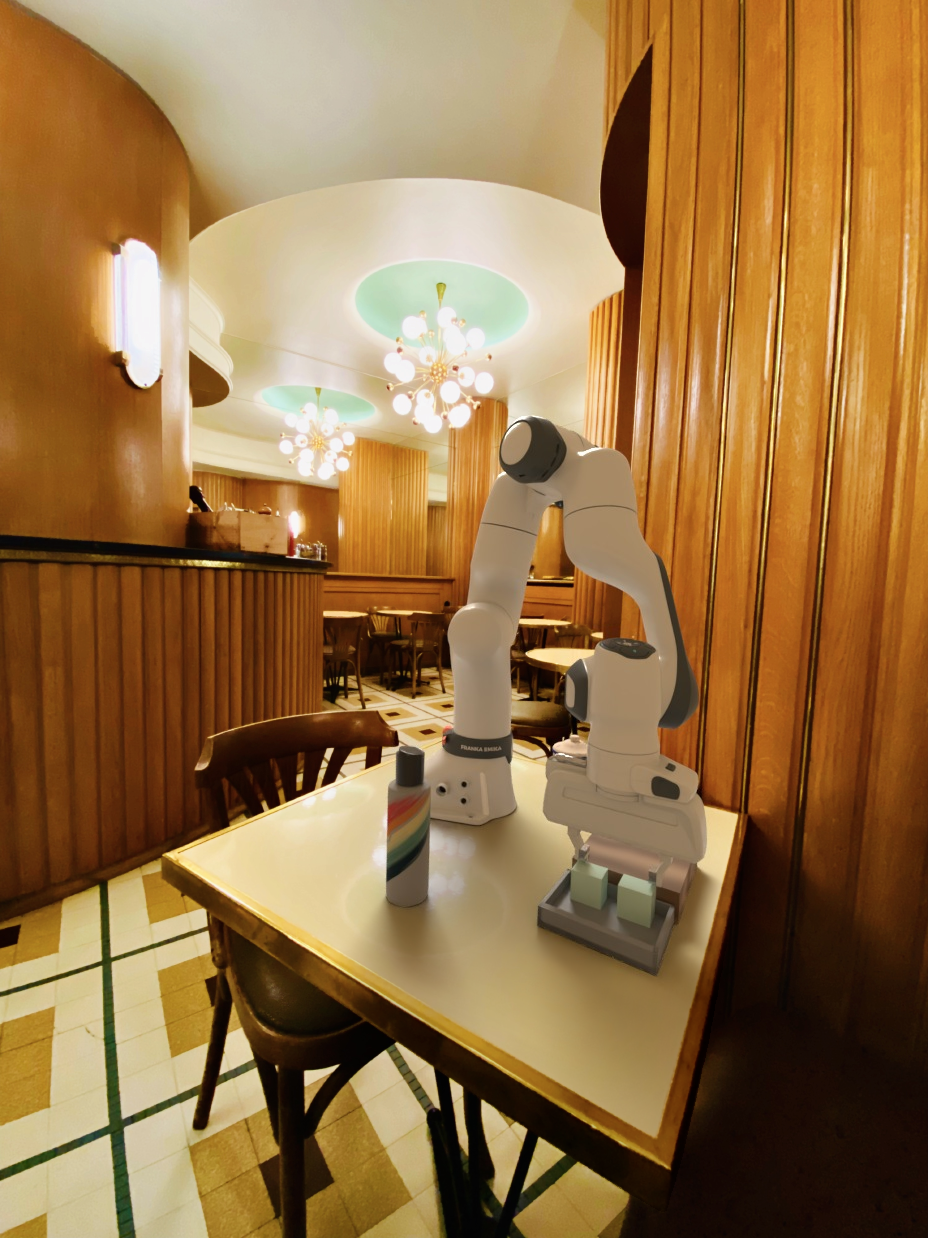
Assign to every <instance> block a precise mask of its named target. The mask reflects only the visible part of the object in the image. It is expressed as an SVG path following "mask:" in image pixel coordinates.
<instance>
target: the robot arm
mask: <svg viewBox="0 0 928 1238" xmlns="http://www.w3.org/2000/svg"><path fill="white" fill-rule="evenodd" d="M498 449H499V450H498V461H499V465H500V467H501V470H502V471H503V472H501V473H500V474H498V475H497V477H496V478H495V480H494V482H493V484H492V487H491V489H490V491H489V494H488V496H487V499H486V502H485V504H484V508H483V511H482V514H481V517H480V518H481V519H480V522H479V527H478V530H477V535H476V540H475V545H474V547H473V552H472V557H471V561H470V568H469V569H470V575H469V576H470V577H469V586H468V587H469V588H468V593H467V594H468V595H467V602H466V605H464V606H462V607H461V608H460V609H459V610H458V611H456V612H455V614H454V615H453V617H452V618H451V620H450V623H449V626H448V630H447V642H448V644H449V645H448V646H449V654H450V665H451V666H450V667H451V673H452V681H453V725H452V726H451V725H445V726H444V728H443V730H442V738H441V740H442V741H441V744H442V745H441V747H442V748H440V749H439V750H437V751H436V752H434V753H433V754H431V755H430V756H429V757H427V758H426V759H425V760H424V779H426V780H427V781H429V783H430V784H431V809H430V819H437V820H443V821H449V822H454V823H460V824H466V825H474V826H480V825H481V826H482V825H483V824H486V823H488V822H489V821H491V820H494V819H499V818H503V817H505V816H507V815H508V816H509V814H511V813H513V812H514V811H515V810H516V808H517V805H518V803H517V800H516V795H515V789H514V784H513V779H512V767H511V766H512V764H511V763H512V760H513V753H514V736H513V732H512V730H511V729H512V728H511V725H512V723H511V722H512V698H513V694H512V693H513V692H512V691H513V690H512V680H511V679H512V678H511V677H512V676H511V647H512V645H513V644H514V642H515V640H516V638H517V637H516V636H517V634H518V629H519V628H518V627H519V625H520V624H519V623H520V620H521V619H520V618H521V615H522V614H521V613H522V610H523V605H524V604H523V603H524V600H525V596H526V595H525V594H526V589H527V582H528V578H529V573H530V569H531V566H532V560H533V558H534V554H535V550H536V546H537V545H536V544H537V542H538V541H537V540H538V537H539V532H540V528H541V524H542V523H541V522H542V519H543V517H544V516H543V515H544V513H545V511H546V510H547V509H548V508H549V507H550V506H551V505H553V504H554V505H555V507H557V508H558V509H562V510H563V511H562V512H563V516H562V517H563V519H562V522H563V523H562V525H563V526H562V527H563V532H562V533H563V540H564V541H563V543H564V549H565V552H566V556H567V557H568V559H569V560H570V562H571V563H572V564H573V565H574V566H575V567H576V568H577V569H578V570H579V571H581V572H582V573H583V574H585V575H586V576H589V577H590V578H592V579H595V580H597V581H599V582H602V583H605V584H607V585H610V586H612V587H614V588H617V589H619V590H620V591H623V592H624V593H625V594H627V595H628V596H630V597H631V598H632V599H633V600H634V601H635V604H637V606H638V608H639V611H640V615H641V619H642V624H643V630H644V633H645V637H646V642H645V641H643V640H638V639H637V640H636V639H633V638H626V637H612V638H607V639H603V640H601V641H599V642H598V643H597V644H596V646H595V648H594V651H593V654H592V655H590V656H587V657H585V658H579V659H577V660H576V661H574V662H573V663H572V665H570V666H569V668H568V669H567V670H566V671H565V675H564V676H565V679H564V703H563V704H564V707H565V708H566V710H567V711H568V712H569V713H570V714H571V715H572V716H573V717H574V718H576V719H577V720H579V721H580V722H582V723H584V722H585V723H588V724H590V729H589V733H588V736H587V743H586V744H587V759H586V758H581V757H575V756H568V755H566V754H562V753H557V754H556V755H553V754H552V755H551V756H549V757H548V758H547V760H546V763H545V778H546V780H547V781H546V785H545V790H544V795H543V801H542V813H543V815H544V817H545V818H546V820H547V821H549V822H551V823H555V824H558V825H561V826H565V827H567V830H566V831H567V833H566V834H567V836H568V838H569V839H570V842H571V844H572V846H573V848H574V855H575V860H578V861H582V862H585V863H586V862H587V860H588V859H589V855H590V853H589V851H590V845H587V844H584V843H585V841H584V840H583V836H582V835H581V832H585V833H589V834H595V835H598V836H602V837H605V838H609V839H612V840H615V841H619V842H622V843H626V844H629V845H632V846H636V847H639V848H643V849H646V850H649V851H653V852H656V853H659V861H661V864H660V865H659V866H655V865H651V867H650V869H649V872H648V877H649V879H648V884H651V885H655V886H658V887H661V886H662V883H663V873H664V872H665V871H666V870H667V869H668V867H669V866H670V865H671V863H672V861H673V858H676V859H680V860H683V861H687V862H690V863H694V864H696V863H697V864H698V863H699V862H701V861H703V859H704V858H705V855H706V852H707V845H708V844H707V843H708V842H707V841H708V836H707V835H708V831H707V829H708V828H707V818H706V817H707V815H706V811H705V806H704V803H703V800H702V798H701V797H700V795H699V794H698V793H697V790H698V787H699V775H698V773H697V772H696V770H694V769H692V768H690V767H688V766H685V765H684V764H682V763H679V762H677V761H675V760H673V759H671V758H669V757H667V756H666V755H664V754H662V753H661V744H660V739H659V736H658V735H659V733H658V728H659V729H669V730H675V729H678V728H679V727H681V726H682V725H684V724H685V723H686V722H687V721H688V720H689V719H691V717H692V716H693V715H694V714H695V712H696V711H697V709H698V706H699V702H700V691H699V687H698V682H697V679H696V675H695V673H694V671H693V668H692V665H691V664H690V660H689V658H688V655H687V650H686V647H685V642H684V639H683V633H682V630H681V626H680V620H679V616H678V611H677V608H676V604H675V598H674V595H673V590H672V586H671V583H670V578H669V575H668V571H667V568H666V566H665V563H664V561H663V558H662V557H661V556H660V555H659V554H658V553H656V552H654V551H653V550H651V548H650V546H649V545H648V543H647V542H646V541H645V538H644V537H643V534H642V532H641V529H640V525H639V521H638V520H639V519H638V518H639V517H638V504H637V503H638V501H637V497H636V496H637V494H636V488H635V482H634V477H633V473H632V469H631V466H630V463H629V461H628V459H627V457H626V456H625V455H624V454H623V453H622V452H621V451H619V450H617V449H614V448H610V447H600V446H598V445H596V444H593V443H592V442H591V441H589V440H588V439H586V438H585V437H584V436H583V435H581V434H580V433H577V432H576V431H574V430H571V429H568V428H566V427H563V426H560V424H559V425H558V424H557V423H556V424H555V423H553V422H552V421H551V420H550V419H547V418H545V417H541V416H537V415H530V414H529V415H522V416H521V417H519V418H517V419H515V420H514V421H513V422H512V423H511V424H510V425H509V426H508V427H507V428H506V430H505V432H504V434H503V436H502V438H501V441H500V444H499V448H498ZM554 758H556V760H555V759H554Z"/></svg>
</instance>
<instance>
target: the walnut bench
mask: <svg viewBox="0 0 928 1238" xmlns="http://www.w3.org/2000/svg"><path fill="white" fill-rule="evenodd" d="M590 834H591V835H590V836H588V838H587V839H586V840H585V841H584V844H587V845H590V851H589V853H590V855H589V859H588V860H587V862H589V863H592V864H595V865H599V866H602V867H605V868H608V883H611V884H614V885H617V886H618V884H619V882H620V880H621V878H622V876H623V874H626V875H629V876H633V877H636V878H639V879H642V880H645V881H648V879H649V877H648V872H649V869H650V867H651V865H655V866H659V865H660V864H661V861H659V853H656V852H653V851H649V850H646V849H643V848H639V847H636V846H632V845H629V844H626V843H622V842H619V841H615V840H612V839H609V838H605V837H602V836H598V835H595V834H592V833H590ZM577 861H578V860H575V854H574V855H573V856H572V857H571V869H572V868H573V866H574V865H575V864H576V862H577ZM697 867H698V863H696V864H694V863H690V862H687V861H683V860H680V859H676V858H673V861H672V863H671V865H670V866H669V867H668V869H667V870H666V871H665V872H664V873H663V883H662V886H661V887H658V886H656V899H657V900H660V901H663V902H666V903H669V904H671V905H674V906H675V916H674V924H676V925H679V922H680V920H681V917H682V914H683V912H684V907H685V905H686V901H687V899H688V895H689V892H690V890H691V886H692V883H693V880H694V876H695V874H696V871H697Z"/></svg>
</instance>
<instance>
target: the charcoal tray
mask: <svg viewBox="0 0 928 1238" xmlns="http://www.w3.org/2000/svg"><path fill="white" fill-rule="evenodd" d="M571 869H572V868H571ZM571 869H570V868H567V869H566V870H565V872H564V873H563V874H562V876H560V878H559V879H558V880H557V882H555V884H554V885H553V886H552V888H550V890H549V891H548V892H547V893H546V895H545V897H544V898H543V899H542V900H541V901H540V902H539V904H537V919H536V925H537V926H538V927H540V928H542V929H545V930H547V931H550V932H551V933H553V934H557V935H559V936H561V937H564V938H565V939H567V940H568V939H569V940H571V941H572V942H576V943H577V944H579V945H582V946H584V947H587V948H589V949H592V950H594V951H596V952H598V953H601V954H603V955H606V956H608V957H610V958H612V959H615V960H617V961H619V962H621V963H624V964H626V965H629V966H631V967H634V968H635V969H638V970H640V971H643V972H645V973H647V974H649V975H652V976H654V977H658V974H659V971H660V968H661V965H662V961H663V959H664V955H665V954H666V950H667V947H668V944H669V942H670V938H671V935H672V932H673V929H674V927H675V923H674V916H675V906H674V905H671V904H669V903H666V902H663V901H660V900H657V899H656V902H655V916H654V919H653V922H652V924H651V927H650V928H648V927H645V926H642V925H639V924H637V923H634V922H631V921H628V920H626V919H623V918H620V917H617V895H618V886H617V885H614V884H611V883H608V885H607V899H606V901H605V902H604V904H603V906H602V908H601V910H599V909H596V908H593V907H591V906H588V905H585V904H583V903H580V902H577V901H574V900H572V899H570V889H571Z"/></svg>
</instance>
